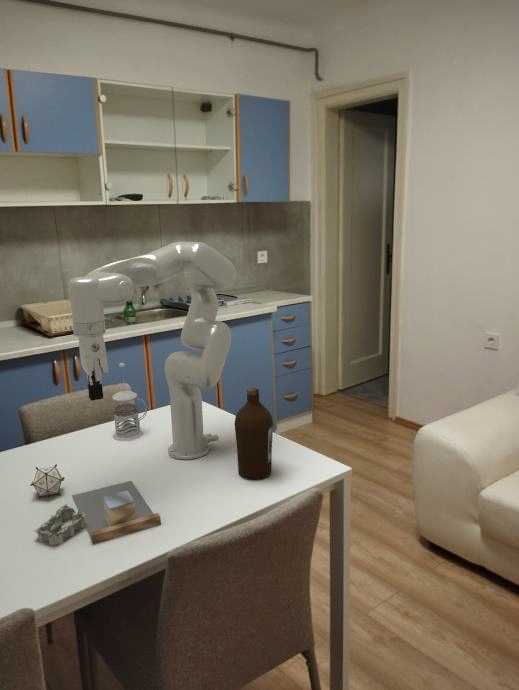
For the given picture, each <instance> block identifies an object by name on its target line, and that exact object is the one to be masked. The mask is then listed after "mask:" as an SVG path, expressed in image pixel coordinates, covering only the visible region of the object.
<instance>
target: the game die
mask: <svg viewBox="0 0 519 690" xmlns="http://www.w3.org/2000/svg"><path fill="white" fill-rule="evenodd" d="M57 466H58V464H57V463H55V465H54V466H49V467H43V468H38V467H37V466H35V469H36V473H35V477H34V479H33V481H32V482H31V483H30V484H29V486H31V487H32V486H33V488H34V489H35V491H36V492H37V494H38V495H39V496H38V499H41V498H42V497H45V496H51V495H57V496H60V495H61V493H60V488H61V485H62V482H63V481H65V478H66V477H65V476H61V474H60V472H59V470H58V468H57Z"/></svg>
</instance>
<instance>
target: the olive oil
mask: <svg viewBox="0 0 519 690" xmlns="http://www.w3.org/2000/svg"><path fill="white" fill-rule="evenodd" d="M273 426H274V421H273V416H272V414H271V411H270V410H269V409H268V408H267V407H265V405H264V404H262V402H260V388H259V387H251V386H250V387H248V388H247V389H246V402H245V404H244V405H243V406H241V408H240V409H239V410H238V411H237V413H236V415H235V418H234V432H235V434H234V435H235V443H236V454H237V455H236V457H237V468H238V469H237V472H238V475H239V476H240V477H241V478H242V479H244V480H250V481H259V480H260V481H261V480H265V479H266V478H268V477H270V475H271V474H272V469H273V468H272V460H273V458H272V457H273V430H274V429H273V428H274V427H273Z"/></svg>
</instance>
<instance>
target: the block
mask: <svg viewBox="0 0 519 690" xmlns="http://www.w3.org/2000/svg"><path fill="white" fill-rule="evenodd" d="M103 501H104V511H105V519H106V522H107V524H108V526H109V527H111V526H114V525H118V524H121V523H125V522H128V521H132V520H135V519H136V514H135V502H134V500H133V498H132V497H131V495H130V494H129V492H128V491H124V492H120V493H116V494H113V495H109V496H105V497H103Z"/></svg>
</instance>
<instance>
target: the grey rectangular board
mask: <svg viewBox="0 0 519 690" xmlns="http://www.w3.org/2000/svg"><path fill="white" fill-rule="evenodd" d="M124 491H128V492H129V494H130V495H131V497H132V498H133V500H134V502H135V514H136V519H139V518H142V517H146V516H149V515H153V514H155V513H154V512H153V510H152V509H151V507H150V505H148V503H147V501H146V500H145V499H144V497H143V495H142V494H141V493H140V491H139V489H138V488H137V486H135V484H134V483H133V481H132V480H127V481H124V482H120V483H116V484H112V485H108V486H104V487H100V488H97V489H96V488H95V489H92V490H88V491H85V492H80V493H76V494H73V495H71V497H72V500H73V501H74V504H75V507H76V509H77V512H78V511H80V512H81V513H85V514H87V515H85V516H84V521H85V522H84V523H85V527H84V528H85V529H86V532H87V534H88V537H89V539H90V540H91V533H90V532H93V531H97V530H100V529H104V528H107V527H109V526H108V524H107V522H106V519H105V511H104V501H103V497H105V496H109V495H113V494H116V493H120V492H124Z"/></svg>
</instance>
